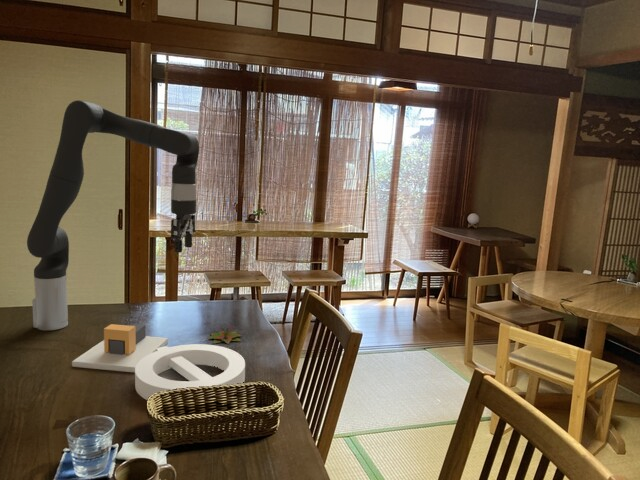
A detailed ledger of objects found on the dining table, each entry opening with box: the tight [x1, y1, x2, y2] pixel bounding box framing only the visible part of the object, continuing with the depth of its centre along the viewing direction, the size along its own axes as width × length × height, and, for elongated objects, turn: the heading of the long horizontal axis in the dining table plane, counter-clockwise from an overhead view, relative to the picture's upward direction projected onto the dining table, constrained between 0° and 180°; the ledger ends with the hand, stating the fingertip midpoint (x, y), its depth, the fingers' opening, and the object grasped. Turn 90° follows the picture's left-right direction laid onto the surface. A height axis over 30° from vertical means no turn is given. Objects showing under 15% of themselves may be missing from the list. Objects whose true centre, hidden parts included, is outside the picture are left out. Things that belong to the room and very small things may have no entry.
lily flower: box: [207, 323, 242, 345], centre depth 160 cm, size 12×12×5 cm
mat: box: [71, 335, 169, 373], centre depth 144 cm, size 18×22×2 cm
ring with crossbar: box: [134, 343, 246, 401], centre depth 130 cm, size 28×28×5 cm
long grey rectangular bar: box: [110, 323, 146, 355], centre depth 146 cm, size 4×14×4 cm, turn 174°
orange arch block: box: [103, 323, 136, 354], centre depth 141 cm, size 7×4×7 cm, turn 84°
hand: (183, 249), depth 154 cm, fingers open, 8 cm apart
